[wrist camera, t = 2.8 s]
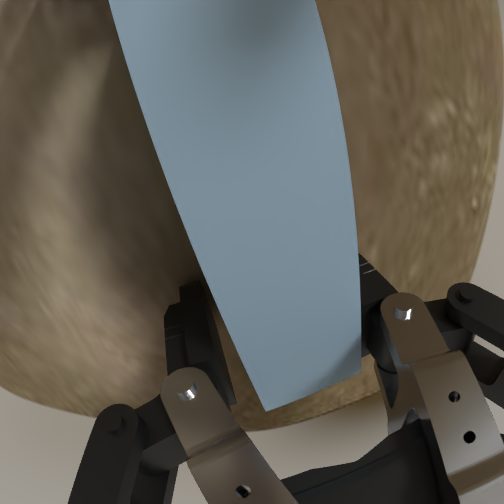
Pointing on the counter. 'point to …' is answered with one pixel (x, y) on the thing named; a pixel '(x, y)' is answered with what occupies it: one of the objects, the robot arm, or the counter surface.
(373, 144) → the counter surface
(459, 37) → the counter surface
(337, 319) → the rail
